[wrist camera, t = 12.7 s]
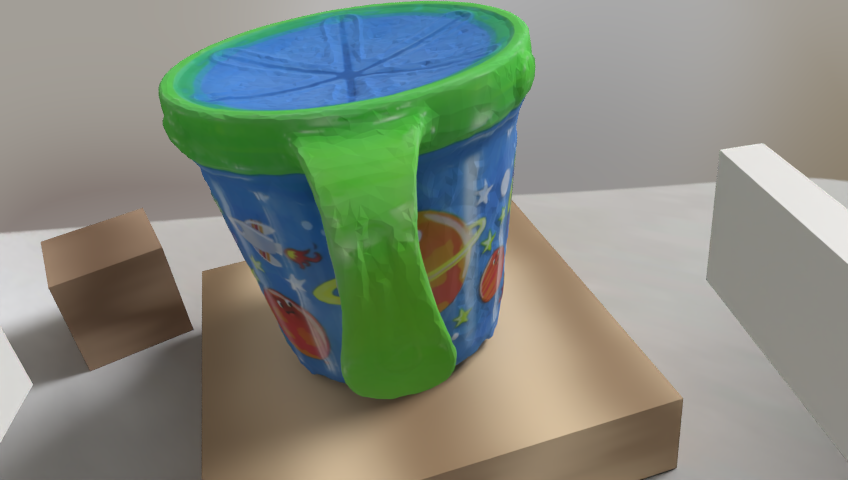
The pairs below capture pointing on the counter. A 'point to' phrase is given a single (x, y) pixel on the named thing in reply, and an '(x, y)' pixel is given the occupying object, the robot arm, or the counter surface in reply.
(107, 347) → the walnut block
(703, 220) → the counter surface
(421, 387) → the snack cup
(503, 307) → the oak base slab
